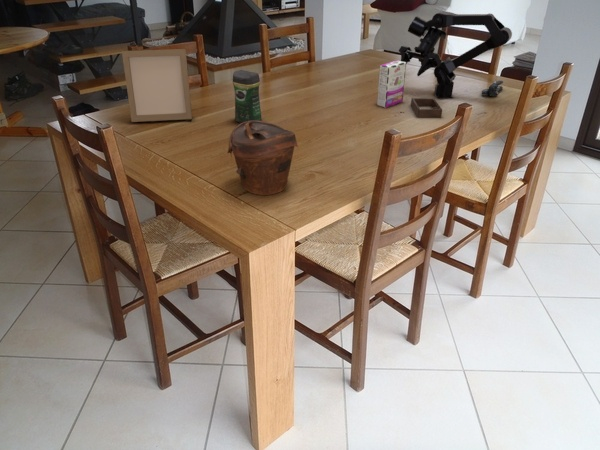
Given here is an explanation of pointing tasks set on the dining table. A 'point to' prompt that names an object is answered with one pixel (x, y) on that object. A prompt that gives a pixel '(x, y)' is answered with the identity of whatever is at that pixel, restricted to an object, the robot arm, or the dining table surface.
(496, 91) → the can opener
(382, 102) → the candy bar box
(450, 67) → the robot arm
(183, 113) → the photo frame
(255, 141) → the brown bucket
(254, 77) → the coffee jar
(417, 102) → the compartment
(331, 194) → the dining table surface
